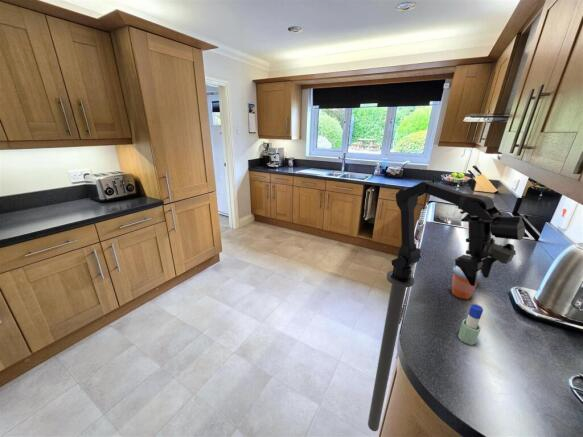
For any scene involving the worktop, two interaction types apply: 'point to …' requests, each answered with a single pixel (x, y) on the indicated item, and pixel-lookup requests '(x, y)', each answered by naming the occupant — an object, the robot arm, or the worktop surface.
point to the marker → (474, 316)
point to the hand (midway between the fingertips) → (479, 281)
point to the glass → (468, 333)
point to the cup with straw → (463, 284)
